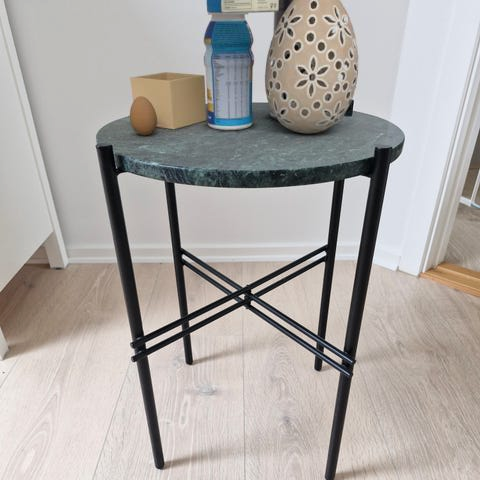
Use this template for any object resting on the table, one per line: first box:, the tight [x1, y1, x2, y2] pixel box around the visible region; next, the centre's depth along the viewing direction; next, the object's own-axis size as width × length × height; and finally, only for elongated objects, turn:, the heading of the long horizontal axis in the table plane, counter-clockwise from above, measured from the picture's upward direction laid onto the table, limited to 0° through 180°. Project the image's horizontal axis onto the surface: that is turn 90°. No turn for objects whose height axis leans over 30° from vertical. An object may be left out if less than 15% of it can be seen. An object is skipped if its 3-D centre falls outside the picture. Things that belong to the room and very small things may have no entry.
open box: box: [129, 71, 207, 130], centre depth 83 cm, size 9×9×8 cm
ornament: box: [264, 0, 359, 135], centre depth 71 cm, size 15×15×20 cm
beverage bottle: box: [203, 0, 255, 131], centre depth 76 cm, size 8×8×20 cm
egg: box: [129, 96, 157, 137], centre depth 74 cm, size 4×4×6 cm
